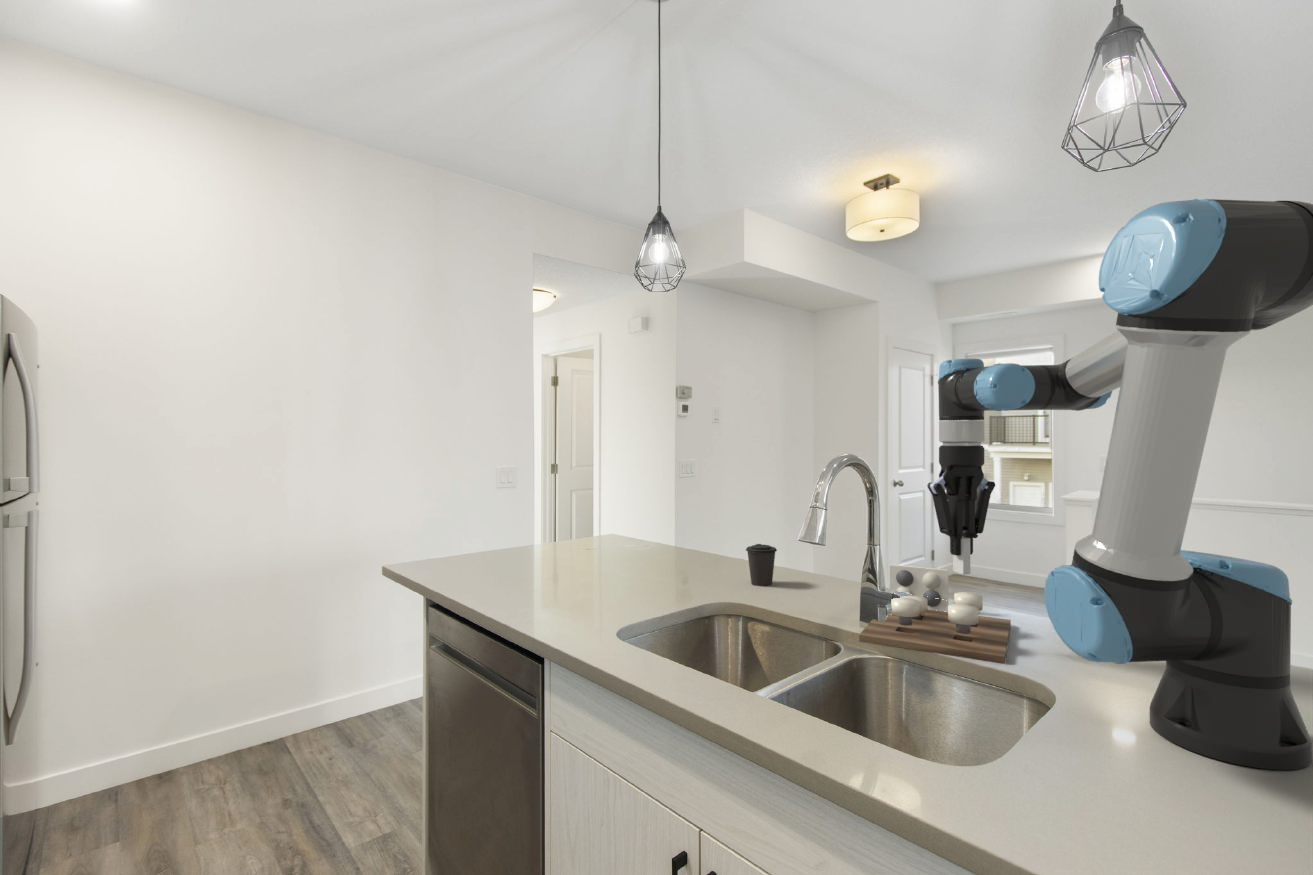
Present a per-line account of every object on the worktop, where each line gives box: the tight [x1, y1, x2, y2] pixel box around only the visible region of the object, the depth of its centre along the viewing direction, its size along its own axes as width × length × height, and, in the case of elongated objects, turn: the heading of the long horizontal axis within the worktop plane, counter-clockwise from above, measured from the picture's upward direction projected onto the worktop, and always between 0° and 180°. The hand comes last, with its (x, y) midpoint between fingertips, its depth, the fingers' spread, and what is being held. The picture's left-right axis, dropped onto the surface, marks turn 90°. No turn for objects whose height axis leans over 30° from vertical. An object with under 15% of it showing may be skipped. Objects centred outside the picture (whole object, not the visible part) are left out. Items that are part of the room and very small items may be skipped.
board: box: [858, 610, 1012, 665], centre depth 123 cm, size 24×24×1 cm
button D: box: [901, 595, 928, 620], centre depth 130 cm, size 5×5×4 cm
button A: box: [948, 603, 979, 634], centre depth 116 cm, size 5×5×4 cm
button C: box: [953, 591, 984, 612], centre depth 124 cm, size 5×5×4 cm
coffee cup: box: [745, 543, 778, 587], centre depth 165 cm, size 8×8×10 cm
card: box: [889, 563, 950, 612], centre depth 142 cm, size 4×12×9 cm, turn 59°
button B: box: [891, 597, 919, 626], centre depth 121 cm, size 5×5×4 cm
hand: (961, 572), depth 116 cm, fingers closed
